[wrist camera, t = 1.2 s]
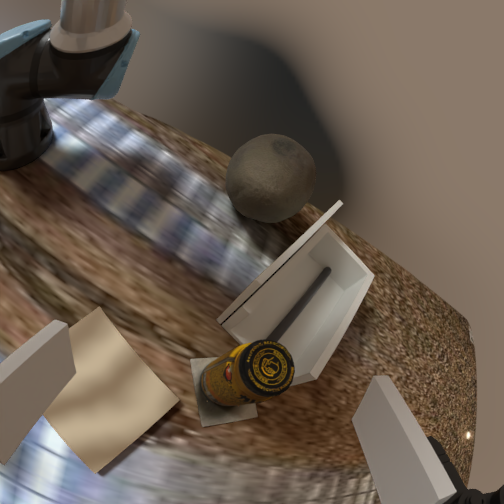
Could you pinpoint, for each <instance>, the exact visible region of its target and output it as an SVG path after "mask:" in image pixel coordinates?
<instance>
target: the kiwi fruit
mask: <svg viewBox="0 0 504 504" xmlns="http://www.w3.org/2000/svg"><path fill="white" fill-rule="evenodd" d="M315 179H316V168H315V164H314V161H313V159H312V157H311V155H310V154H309V153H308V152H307V151H306V150H305V149H304V148H303V147H302V146H301V145H299V144H298V143H297V142H296V141H294V140H293V139H290V138H288V137H286V136H283V135H278V134H266V135H261V136H259V137H256V138H254V139H252V140H250V141H249V142H247V143H246V144H244V145H243V146H241V148H239V149H238V150H237V151H236V153H235V154H234V155H233V157H232V158H231V160H230V163H229V165H228V169H227V174H226V190H227V194H228V196H229V198H230V200H231V202H232V204H233V206H234V207H235V208H236V209H237V210H238V211H239V212H240V213H241V214H243V215H244V216H246V217H248V218H251V219H255V220H258V221H261V222H266V223H276V222H280V221H283V220H285V219H287V218H290V217H292V216H293V215H295V214H296V213H297V212H299V211H300V210H301V209H302V208H303V206H304V205H305V204H306V202H307V201H308V200H309V198H310V196H311V194H312V192H313V189H314V185H315Z"/></svg>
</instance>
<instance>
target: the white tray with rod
mask: <svg viewBox="0 0 504 504" xmlns="http://www.w3.org/2000/svg"><path fill="white" fill-rule="evenodd" d="M342 204H343V203H342V202H341V201H340V200H339V201H338V202H337V203H336V204H335V205H334V206H332V207H331V208H330V209H329V210H328V211H327V212H326V213H325V214H324V215H323V216H322V217H321V218H320V219H319V220H318V221H317V222H316V223H315V224H314V225H313V226H311V227H310V228H309V229H308V230H307V231H306V232H305V233H304V234H303V235H302V236H301V237H300V238H299V239H298V240H297V241H296V242H295V243H293V244H292V245H291V246H290V247H289V248H288V249H287V250H286V251H285V252H284V253H283V254H282V255H281V256H280V257H278V258H277V259H276V260H275V261H274V262H273V263H272V264H271V265H270V266H269V267H268V268H267V269H265V270H264V271H263V272H262V273H261V274H260V275H259V276H258V277H257V278H256V279H255V280H254V281H253V282H252V283H251V284H250V285H249V286H248V287H247V288H246V289H245V290H244V291H243V292H242V293H241V294H240V295H239V296H238V297H237V299H236V300H235V301H234V302H233V303H232V304H231V305H230V306H229V307H228V308H227V309H226V310H225V311H224V312H223V313H222V314H221V315H220V316H219V317H218V318H217V319H216V320H217V321H218V322H219V324H221V323H222V322H223V321H224V320H225V319H226V318H227V317H228V316H230V315H231V314H232V313H233V312H234V311H235V310H236V309H237V308H238V307H239V306H240V305H241V304H242V303H243V302H244V301H245V300H246V299H248V298H249V297H250V296H251V295H252V294H253V293H254V292H255V291H256V290H257V289H258V288H259V287H260V286H261V285H262V284H263V283H264V282H265V281H266V280H267V279H268V278H269V277H270V276H271V275H272V274H274V273H275V272H276V271H277V270H278V269H279V268H280V267H281V266H282V265H283V264H284V263H285V262H286V261H287V260H288V259H289V258H290V257H291V256H292V255H293V254H294V253H295V252H296V251H297V250H298V249H299V248H300V247H301V246H302V245H303V244H304V243H305V242H306V241H307V240H308V239H309V238H310V237H311V236H312V235H313V234H314V233H315V232H316V231H317V230H318V229H319V228H320V227H321V226H322V225H323V224H324V223H325V222H326V221H327V220H328V219H329V218H330V217H331V216H332V214H333V213H334V212H335V211H336V210H337V209H338V208H339V207H340V206H341V205H342ZM373 278H374V275H373V273H372V272H371V271H370V270H369V269H368V268H367V267H366V266H365V265H364V263H363V262H362V261H361V260H360V259H359V258H358V257H357V256H356V255H355V254H354V253H353V252H352V251H351V249H350V248H349V247H348V246H347V245H346V244H345V243H344V242H343V241H342V240H341V239H340V238H339V237H338V236H337V235H336V234H335V233H334V232H333V231H332V230H331V229H330V228H329V227H328V226H327V225H326V224H324V225H323V226H322V227H321V229H320V230H319V231H318V232H317V233H316V234H315V235H314V236H313V237H312V238H311V239H310V240H309V241H308V242H307V243H306V244H305V245H304V246H303V247H302V248H301V249H300V250H299V251H298V252H297V253H296V254H295V255H294V256H293V257H292V258H291V259H290V260H289V261H288V262H286V263H285V264H284V265H283V266H282V267H281V268H280V269H279V270H278V271H277V272H276V273H275V274H274V275H273V276H272V277H271V278H270V279H269V280H268V281H267V282H266V283H265V284H264V285H263V286H262V287H261V288H260V289H259V290H258V291H257V292H256V293H255V294H254V295H253V296H252V297H251V298H250V299H249V300H248V301H246V302H245V303H244V304H243V305H242V306H241V307H240V308H239V309H238V310H237V311H236V312H235V313H234V314H233V315H232V316H231V317H230V318H229V319H228V320H226V321H225V322H224V323H223V324H222V325H221V326H222V327H223V328H224V329H225V330H226V331H227V332H228V333H229V334H230V335H231V336H232V337H233V338H234V339H235V340H236V341H237V342H238V343H239V344H240V345H242V344H245V343H253V342H255V341H257V340H263V339H268V340H273V341H276V342H278V343H280V344H282V345H283V346H285V347H286V349H287V350H288V352H289V353H290V354H291V356H292V358H293V362H294V366H295V373H294V377H293V382H292V384H291V385H290V386H293V385H297V384H301V383H305V382H309V381H312V380H316V379H317V378H318V376H319V375H320V373H321V372H322V370H323V368H324V367H325V365H326V364H327V362H328V360H329V359H330V357H331V355H332V354H333V352H334V350H335V349H336V347H337V345H338V344H339V342H340V340H341V339H342V337H343V335H344V333H345V332H346V330H347V328H348V326H349V324H350V323H351V321H352V319H353V317H354V315H355V313H356V312H357V310H358V308H359V306H360V304H361V302H362V300H363V298H364V296H365V294H366V292H367V290H368V288H369V286H370V284H371V282H372V280H373Z"/></svg>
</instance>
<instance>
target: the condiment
mask: <svg viewBox="0 0 504 504" xmlns="http://www.w3.org/2000/svg"><path fill="white" fill-rule="evenodd" d="M190 361H191V368H192V375H193V381H194V387H195V393H196V398H197V404H198V409H199V414H200V419H201V424H202V427H205V426H211V425H218V424H224V423H229V422H235V421H240V420H245V419H250V418H255V417H258V414H257V409H256V404H255V403H261V402H264V401H266V400H269V399H270V398H272V397H273V396H277V395H280V394H281V393H283V392H284V391H286V390H287V389H288V387H289V386H290V385H291V384H292V382H293V377H294V373H295V366H294V362H293V358H292V356H291V354H290V353H289V352H288V350H287V349H286V347H285V346H283V345H282V344H280V343H278V342H276V341H273V340H268V339H263V340H257V341H255V342H253V343H245V344H242V345H239V346H238V347H236V348H234V349H232V350H231V351H229V352H227V353H226V354H224V355H223V356H221V357H215V358H199V359H190ZM207 401H208V402H207ZM238 405H239V406H238Z"/></svg>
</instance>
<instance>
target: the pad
mask: <svg viewBox="0 0 504 504" xmlns="http://www.w3.org/2000/svg"><path fill="white" fill-rule="evenodd" d="M68 330H69V336H70V342H71V348H72V354H73V359H74V364H75V368H76V374H75V375H74V376H73V378H72V379H71V380H70V381H69V382H68V384H67V385H66V386H65V387H64V388H63V390H62V391H61V392H60V393H59V394H58V396H57V397H56V398H55V399H54V401H53V402H52V403H51V404H50V406H49V407H48V408H47V409H46V411H45V412H44V413H43V415H44V417H45V418H46V419H47V421H48V422H49V423H50V425H51V426H52V427H53V428H54V430H55V431H56V432H57V433H58V435H59V436H60V437H61V438H62V439H63V440H64V442H65V443H66V444H67V445H68V446H69V447H70V448H71V450H72V451H73V452H74V453H75V454H76V455H77V456H78V457H79V458H80V459H81V460H82V461H83V462H84V463H85V464H86V465H87V466H88V467H89V468H90V469H91V470H92V471H93V472H94V473H95V474H96V473H97V472H98V471H99V470H101V469H102V468H103V467H104V466H106V465H107V464H108V463H109V462H110V461H112V460H113V459H114V458H115V457H116V456H118V455H119V454H120V453H121V452H122V451H123V450H125V449H126V448H127V447H128V446H129V445H130V444H132V443H133V442H134V441H135V440H136V439H137V438H138V437H140V436H141V435H142V434H143V433H144V432H145V431H146V430H148V429H149V428H150V427H151V426H152V425H153V424H154V423H155V422H156V421H158V420H159V419H160V418H161V417H162V416H163V415H164V414H165V413H166V412H167V411H168V410H170V409H171V408H172V407H173V406H174V405H175V404H176V403H177V402H178V401H179V399H178V398H177V397H176V396H175V395H174V394H173V393H172V392H171V391H170V390H169V389H168V388H167V386H166V385H165V384H164V383H163V382H162V381H161V380H160V379H159V378H158V377H157V376H156V375H155V374H154V373H153V372H152V371H151V369H150V368H149V367H148V366H147V365H146V364H145V363H144V362H143V360H142V359H141V358H140V357H139V356H138V355H137V354H136V352H135V351H134V350H133V349H132V348H131V346H130V345H129V344H128V343H127V342H126V340H125V339H124V338H123V337H122V335H121V334H120V333H119V332H118V330H117V329H116V328H115V327H114V325H113V324H112V323H111V321H110V320H109V319H108V317H107V316H106V315H105V313H104V312H103V311H102V309H101V308H100V307H98V308H97V309H95V310H94V311H93V312H91V313H90V314H88V315H87V316H86V317H84V318H83V319H82V320H80V321H79V322H77V323H76V324H75V325H73V326H72V327H71V328H69V329H68Z"/></svg>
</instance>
